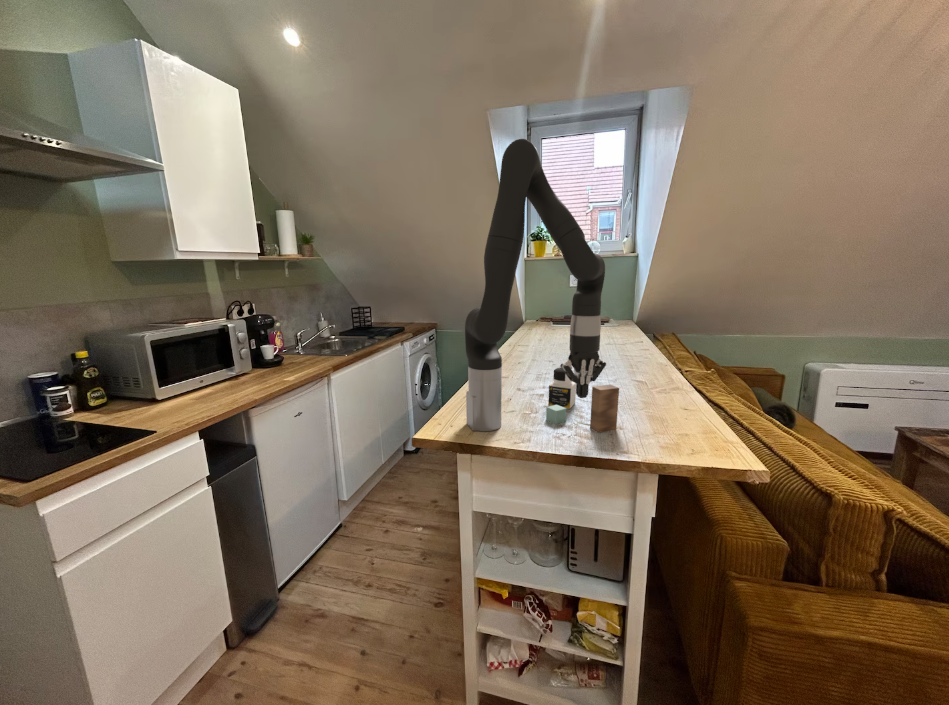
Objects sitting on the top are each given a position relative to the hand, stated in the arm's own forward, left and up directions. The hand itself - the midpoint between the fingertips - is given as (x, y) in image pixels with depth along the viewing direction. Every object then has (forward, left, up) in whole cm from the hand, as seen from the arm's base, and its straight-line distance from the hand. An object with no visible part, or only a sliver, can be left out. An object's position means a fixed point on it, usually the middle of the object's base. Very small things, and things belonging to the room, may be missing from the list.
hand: (581, 397), depth 107 cm
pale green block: (-2, +10, -10) cm, 14 cm away
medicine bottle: (+7, +22, -10) cm, 25 cm away
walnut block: (+7, 0, -10) cm, 12 cm away
